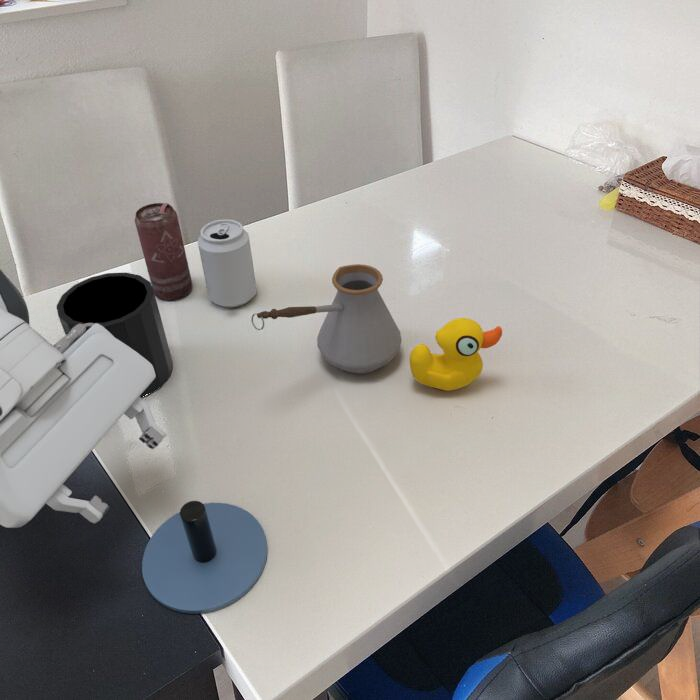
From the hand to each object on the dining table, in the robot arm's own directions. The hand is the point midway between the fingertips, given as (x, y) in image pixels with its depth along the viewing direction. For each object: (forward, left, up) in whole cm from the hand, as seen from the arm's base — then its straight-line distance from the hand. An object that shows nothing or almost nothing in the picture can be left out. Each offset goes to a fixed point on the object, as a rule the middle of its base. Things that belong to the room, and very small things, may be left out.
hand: (132, 477), depth 65 cm
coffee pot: (+27, +17, -11) cm, 34 cm away
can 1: (+12, +46, -11) cm, 48 cm away
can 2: (+20, +40, -11) cm, 46 cm away
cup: (+2, +29, -11) cm, 31 cm away
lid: (+4, -4, -10) cm, 12 cm away
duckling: (+40, +8, -11) cm, 42 cm away
